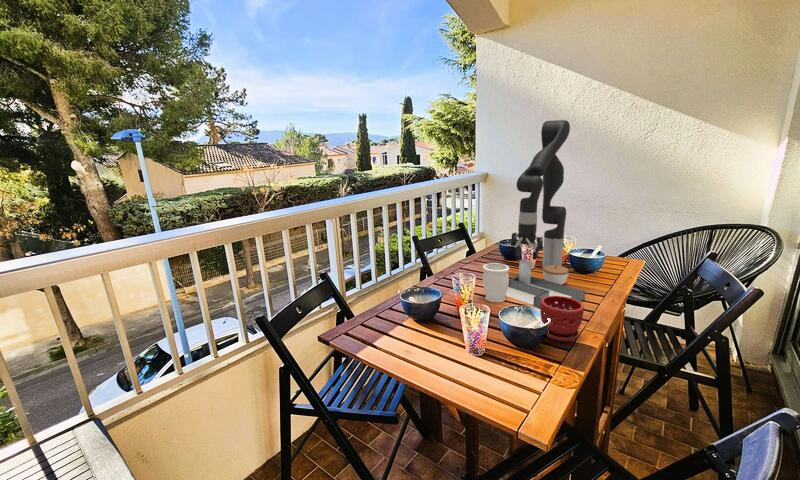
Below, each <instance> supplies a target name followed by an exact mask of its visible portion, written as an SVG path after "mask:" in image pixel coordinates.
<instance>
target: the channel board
mask: <svg viewBox="0 0 800 480" xmlns="http://www.w3.org/2000/svg"><path fill="white" fill-rule="evenodd" d="M530 285H531V286H534V287H538V286H535V285H532V284H530ZM538 288H541V289H544V290H548V291H549V296H563V297H568V298H571V297H572V296H569V295H565V294H562V293H559V292H555V291H552V290H549V289H545V288H542V287H538ZM505 297H509V298H512V299H514V300H517V301H520V302H523V303H525V304H529V305H532V306H535V305H533V303H534V297H535V295H532V294H529V293H526V292H523V291H520V290H517V289H514V288H510V287H509V286H508V289H507V293H506V295H505ZM583 301H584V300H582V301H581V302H583ZM555 303H557V302H555ZM535 307H538V306H535ZM538 308H539V307H538Z"/></svg>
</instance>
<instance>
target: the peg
mask: <svg viewBox="0 0 800 480" xmlns="http://www.w3.org/2000/svg"><path fill="white" fill-rule="evenodd" d="M518 265H519V266H518V276H519V282H521V283H524V284H528V285H530V277H531V274H532V273H531V272H532V261H531V260H529V259H521V260H519V264H518Z"/></svg>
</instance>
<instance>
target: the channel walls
mask: <svg viewBox="0 0 800 480" xmlns="http://www.w3.org/2000/svg"><path fill="white" fill-rule="evenodd" d="M530 284H532V285H535V286H538V287H542V288H545V289H549V290H552V291H555V292H559V293H562V294H565V295H569V296H572V297H571V298H572V299H575V300H577V301H579V302H581V303H582V302H583V301H584V300H586V299H585V298H586V291H585V290H583V289H579V288H576V287H571V286H568V285H564V284H562V285H561V284H557V283H554V282H550V281H546V280H544V278H543V279H542V278H538V277H536V276H533V275H532V276H531V277H530ZM508 287H510V288H514V289H517V290H520V291H523V292H526V293H529V294H532V295H535V297H534V303H533V305H532V306H534V305H535V307H537V306H538V308H540V307H541V300H542V299H543V298H544V297H547V296H549V291H548V290H544V289H541V288H538V287H534V286H531V285H528V284H524V283H521V282H519V275H517V276H515V277H512V278H509V285H508ZM582 300H583V301H582ZM555 304H557V303H555ZM550 306H551V307H552V304H550ZM562 306H565V304H562ZM555 308H557V309H560V308H559V307H555ZM569 309H572V307H571V306H569ZM563 310H567V309H565V308H564V309H563Z"/></svg>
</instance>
